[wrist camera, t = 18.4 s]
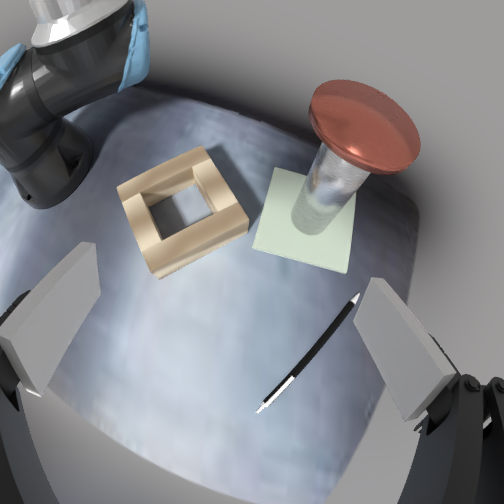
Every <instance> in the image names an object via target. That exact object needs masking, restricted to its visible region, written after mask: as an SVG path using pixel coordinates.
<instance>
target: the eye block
mask: <svg viewBox="0 0 504 504" xmlns="http://www.w3.org/2000/svg"><path fill="white" fill-rule="evenodd" d="M194 184H196V185H197V187H198V189H199V191H200V192H201V194H202V196H203V198H204V199H205V201H206V203H207V205H208V206H209V208H210V210H211V211H212V213H213V215H211V216H209V217H207V218H205V219H203V220H201V221H199V222H197V223H195V224H193V225H191V226H189V227H187V228H185V229H183V230H181V231H179V232H177V233H176V234H174V235H172V236H170V237H168V238H166V239H164V240H163V238H162V236H161V234H160V232H159V229H158V227H157V225H156V223H155V221H154V218H153V216H152V214H151V212H150V209H149V207H150V206H152V205H154V204H156V203H158V202H160V201H162V200H164V199H166V198H168V197H170V196H172V195H174V194H176V193H178V192H180V191H182V190H184V189H186V188H188V187H190V186H192V185H194ZM117 190H118V193H119V196H120V199H121V201H122V204H123V207H124V210H125V212H126V215H127V217H128V220H129V223H130V225H131V228H132V230H133V233H134V235H135V238H136V240H137V242H138V245H139V247H140V249H141V252H142V254H143V256H144V259H145V261H146V263H147V265H148V268H149V270H150V272H151V273H152V274H154V275H155V276H156V277H157V278H159V279H162V278H164V277H166V276H167V275H169V274H171V273H173V272H175V271H177V270H179V269H180V268H182V267H184V266H186V265H188V264H190V263H192V262H193V261H195V260H197V259H199V258H201V257H203V256H205V255H207V254H209V253H210V252H212V251H214V250H216V249H218V248H220V247H222V246H224V245H226V244H227V243H229V242H231V241H233V240H235V239H237V238H239V237H241V236H243V235H245V234H247V233H248V226H249V218H248V217H247V215H246V214H245V212H244V210H243V209H242V207H241V206H240V204H239V202H238V201H237V199H236V198H235V196H234V195H233V193H232V191H231V190H230V188H229V187H228V185H227V184H226V182H225V180H224V179H223V177H222V176H221V174H220V173H219V171H218V169H217V168H216V166H215V165H214V163H213V162H212V160H211V158H210V157H209V155H208V154H207V152H206V151H205V149H204V148H203V146H199V147H197V148H195V149H192V150H190V151H188V152H186V153H184V154H181V155H179V156H177V157H175V158H173V159H171V160H168V161H166V162H164V163H162V164H160V165H158V166H156V167H154V168H152V169H150V170H148V171H146V172H144V173H142V174H140V175H138V176H137V177H135V178H133V179H131V180H129V181H127V182H125V183H124V184H122V185H120V186H118V187H117Z"/></svg>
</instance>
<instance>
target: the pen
mask: <svg viewBox="0 0 504 504" xmlns="http://www.w3.org/2000/svg"><path fill="white" fill-rule="evenodd" d="M359 295H360V293H358V294H357V295H356V296H354V297H353V298H352V299H351V300H350V301H349V302H348V304H347V305H346V306H345V308H344V309H343V310H342V311H341V313H340V314H339V315H338V317H337V318H336V319H335V320H334V322H333V323H332V324H331V325H330V327H329V328H328V329H327V330H326V332H325V333H324V334H323V335H322V337H321V338H320V339H319V340H318V341H317V343H316V344H315V345H314V346H313V347H312V349H311V350H310V351H309V352H308V353H307V354H306V356H305V357H304V358H303V359H302V360H301V361H300V362H299V364H298V365H297V366H296V367H295V368H294V369H293V370H292V371H291V372H290V374H289V375H288V376H287V377H286V378H285V379H284V380H283V381H282V382H281V383H280V384H279V385H278V386H277V387H276V388H275V390H274V391H273V392H272V393H271V394H270V395H269V396H268V397H267V398H266V399H265V400H264V401H263V402H262V404H263V405H262V406H261V407H260V408H259V409H258V410H257V411H256V413H259V412H260V411H261V410H262V409H263V408H264V407H268V406H269V405H270V404H271V403H272V402H273V401H274V400H275V399H276V398H277V397H278V396H279V395H280V394H281V393H282V392H283V391H284V390H285V389H286V387H287V386H288V385H289V384H290V383H291V382H292V381H293V380H294V379H295V378H296V377H297V375H298V374H299V373H300V372H301V371H302V370H303V369H304V368H305V367H306V365H307V364H308V363H309V362H310V361H311V360H312V358H313V357H314V356H315V355H316V354H317V353H318V351H319V350H320V349H321V348H322V347H323V345H324V344H325V343H326V342H327V340H328V339H329V338H330V337H331V335H332V334H333V333H334V332H335V330H336V329H337V328H338V327H339V325H340V324H341V323H342V321H343V320H344V319H345V318H346V316H347V315H348V314H349V312H350V311H351V310H352V308H353V307H354V305H355V304H356V301H357V299H358V297H359Z"/></svg>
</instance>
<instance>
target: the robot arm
mask: <svg viewBox="0 0 504 504" xmlns="http://www.w3.org/2000/svg"><path fill="white" fill-rule="evenodd" d="M28 1H29V3H30V6H31V8H32V10H33V13H34V15H35V17H36V19H37V22H38V25H37V27H36V29H35V32H34V34H33V36H32V39H31V42H32V45H33V47H32V48H30V49H29V50H26V48H27V47H26V46H25V45H23V44H22V43H19V44H17V45H16V46H14V47H12V48H11V49H9V50H8V51H7V52H6V53H5V54H3V55H2V56H1V57H0V164H1V165H2V166H4V167H5V168H6V169H7V170H8V171H9V172H10V174H11V176H12V179H13V181H14V183H15V185H16V187H17V189H18V192H19V194H20V196H21V197H22V199H23V200H24V201H25V202H26V203H28V204H29V205H30V206H31V207H33V208H35V209H47V208H50V207H53V206H55V205H57V204H59V203H60V202H62V201H63V200H64V199H66V198H67V197H68V196H69V195H70V194H71V193H72V192H73V191H74V190H75V189H76V188H77V187H78V185H79V184H80V183H81V181H82V180H83V178H84V177H85V175H86V173H87V171H88V169H89V167H90V164H91V161H92V156H93V147H92V143H91V141H90V140H89V138H88V136H87V135H86V133H85V132H84V131H83V130H82V129H80V128H79V127H77V126H76V125H74V124H73V123H71V122H70V121H68V120H67V119H65V118H64V117H63V116H65V115H67V114H69V113H71V112H73V111H75V110H77V109H79V108H81V107H83V106H85V105H88V104H90V103H92V102H94V101H96V100H99V99H101V98H103V97H106V96H108V95H111V94H113V93H119V92H120V91H122V89H125V88H127V87H129V86H132V85H134V84H137V83H139V82H141V81H142V80H143V79H144V78H145V77H146V76H147V74H148V72H149V68H150V41H149V31H148V15H147V8H146V4H145V1H143V0H28ZM100 295H101V291H100V284H99V276H98V267H97V257H96V246H95V243H88V242H81V243H80V244H79V245H78V246H76V247H75V248H74V249H73V250H72V251H71V252H70V253H69V254H68V255H67V256H66V257H65V258H63V259H62V260H61V261H60V262H59V263H58V264H57V265H56V266H55V267H54V268H53V269H52V270H51V271H50V272H49V273H48V274H47V275H46V276H45V277H44V278H43V279H42V280H41V281H40V282H39V283H38V284H37V285H36V286H35V287H34V289H33V290H32V291H31V290H28V291H27V292H25V293H23V294H22V295H20V296H19V297H18V298H17V299H16V300H15V301H14V302H13V303H12V306H10V307H9V308H8V309H7V312H4V314H3V315H2V316H1V317H0V504H59V502H58V500H57V498H56V497H55V494H54V492H53V490H52V489H51V486H50V484H49V482H48V480H47V477H46V475H45V473H44V470H43V468H42V465H41V463H40V460H39V458H38V455H37V452H36V450H35V447H34V444H33V441H32V438H31V435H30V431H29V428H28V425H27V421H26V418H25V413H24V410H23V406H22V401H21V396H20V393H19V390H18V388H17V384H18V383H19V381H21V383H22V384H23V386H24V388H25V389H26V390H27V391H29V392H31V393H33V394H35V395H37V396H39V397H42V396H43V394H44V392H45V390H46V388H47V386H48V384H49V382H50V380H51V378H52V376H53V374H54V372H55V370H56V368H57V366H58V364H59V363H60V361H61V359H62V357H63V355H64V354H65V352H66V350H67V348H68V346H69V345H70V343H71V341H72V340H73V338H74V336H75V334H76V333H77V331H78V329H79V328H80V326H81V325H82V323H83V321H84V320H85V318H86V316H87V315H88V313H89V312H90V310H91V309H92V307H93V305H94V304H95V302H96V301H97V299H98V298H99V296H100ZM353 323H354V324H355V326H356V328H357V330H358V332H359V334H360V335H361V337H362V339H363V341H364V343H365V345H366V347H367V348H368V350H369V352H370V354H371V356H372V358H373V360H374V362H375V364H376V366H377V368H378V370H379V372H380V374H381V376H382V378H383V380H384V382H385V384H386V386H387V388H388V390H389V392H390V394H391V396H392V398H393V400H394V402H395V404H396V406H397V408H398V410H399V413H400V415H401V417H402V419H403V421H404V422H406V421H409V420H413V419H416V418H418V417H419V416H420V415H421V414H422V413H423V411H425V409H426V410H427V412H428V415H427V416H426V417H425V418H424V419H423V420H422V421H421V422H420V423H419V424H418V425H417V426H416V427H415V429H414V431H416V430H417V429H418V428H420V427H421V426H422V429H421V430H420V431H419V433H421V434H420V438H419V442H418V446H417V449H416V453H415V456H414V460H413V463H412V466H411V469H410V472H409V475H408V478H407V480H406V483H405V486H404V489H403V491H402V494H401V496H400V499H399V501H398V503H397V504H504V380H503V379H502V378H499V377H494V378H492V380H491V381H490V382H489V383H488V384H487V385H480V383H479V381H478V380H476V379H475V378H474V377H473V376H471V375H468V374H464V375H462V376H461V374H460V373H459V372H458V370H457V369H456V367H455V366H454V364H453V363H452V362H451V360H450V359H449V357H448V356H447V355H446V354H444V351H443V349H442V348H441V347H440V345H439V344H438V343H437V341H436V340H435V339H434V337H432V336H431V335H430V334H429V333H428V332H427V331H426V330H425V329H424V328H423V326H422V325H421V323H420V322H419V321H418V320H417V319H416V317H415V316H414V315H413V313H412V312H411V311H410V310H409V308H408V307H407V306H406V305H405V304H404V302H403V301H402V300H401V299H400V298H399V296H398V295H397V294H396V293H395V292H394V290H393V289H392V288H391V287H390V286H389V285H388V283H387V282H386V281H385V280H384V279H382V278H373V277H371V280H370V282H369V285H368V287H367V290H366V292H365V295H364V297H363V299H362V302H361V304H360V306H359V309H358V311H357V313H356V316H355V318H354V320H353ZM490 416H491V420H492V422H491V423H490V424H489V425H488V426H486V427H485V428H484V429H483V423H484V422H485V421H486V420H487V419H488V418H489V417H490Z"/></svg>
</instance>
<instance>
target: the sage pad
mask: <svg viewBox="0 0 504 504" xmlns="http://www.w3.org/2000/svg"><path fill="white" fill-rule="evenodd" d="M306 177H307V176H305V175H302V174H299V173H295V172H292V171H288V170H284V169H281V168H277V167H275V168H274V172H273V175H272V179H271V182H270V186H269V190H268V193H267V197H266V200H265V204H264V208H263V211H262V215H261V218H260V222H259V226H258V229H257V233H256V236H255V240H254V244H253V247H252V249H256V250H259V251H263V252H267V253H270V254H274V255H278V256H281V257H285V258H289V259H292V260H296V261H300V262H303V263H307V264H311V265H314V266H318V267H322V268H325V269H329V270H333V271H336V272H340V273H344V274H345V273H347V268H348V261H349V254H350V247H351V239H352V230H353V222H354V212H355V201H356V192H355V193H354V195H353V196H352V197H351V198H350V200H349V201H348V202H347V203H346V205H345V206H344V207H343V208H342V210H341V211H340V212H339V213H338V214H337V216H336V217H335V218H334V219H333V221H332V222H331V223H330V224H329V225H328V227H327V228H326V229H325V230H324V231H323V232H322V233H320V234H318V235H306V234H304V233H302V232H300V231H299V230H298V229H297V228H296V227H295V226H294V225H293V223H292V220H291V210H292V208H293V206H294V204H295V201H296V199H297V197H298V195H299V193H300V190H301V188H302V186H303V184H304V182H305V179H306Z"/></svg>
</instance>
